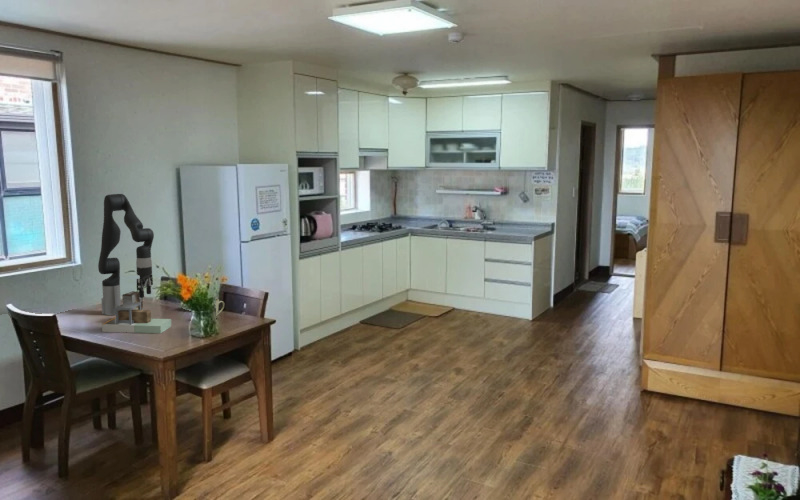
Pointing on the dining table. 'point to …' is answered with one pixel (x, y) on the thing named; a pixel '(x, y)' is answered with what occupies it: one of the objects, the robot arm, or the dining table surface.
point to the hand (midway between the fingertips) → (145, 295)
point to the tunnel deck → (132, 327)
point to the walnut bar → (136, 315)
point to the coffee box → (133, 299)
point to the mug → (218, 306)
